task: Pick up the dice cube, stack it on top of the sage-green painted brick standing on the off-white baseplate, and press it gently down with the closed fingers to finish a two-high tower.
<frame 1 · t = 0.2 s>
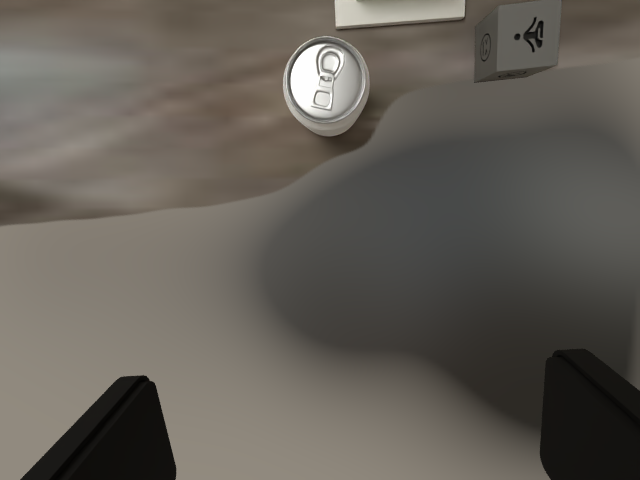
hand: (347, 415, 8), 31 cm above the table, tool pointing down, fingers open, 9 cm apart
can: (329, 104, 36), on the table
dice cube: (499, 52, 34), on the table
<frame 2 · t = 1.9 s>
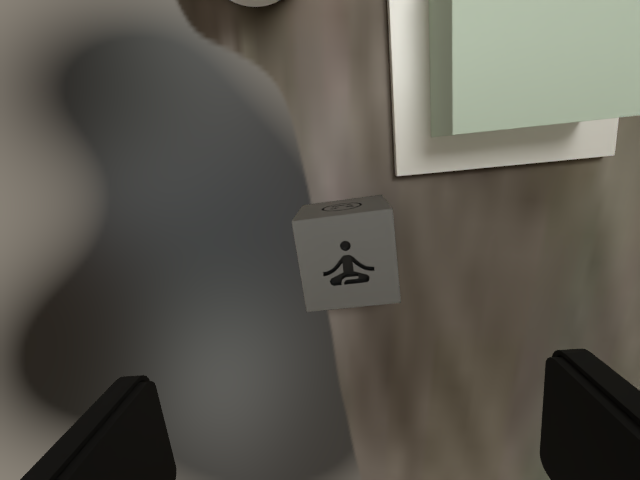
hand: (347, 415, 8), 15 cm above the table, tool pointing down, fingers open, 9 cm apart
sage brick: (506, 50, 18), point 1 cm above the table, touching baseplate
dice cube: (346, 237, 23), on the table
baseplate: (499, 54, 19), on the table
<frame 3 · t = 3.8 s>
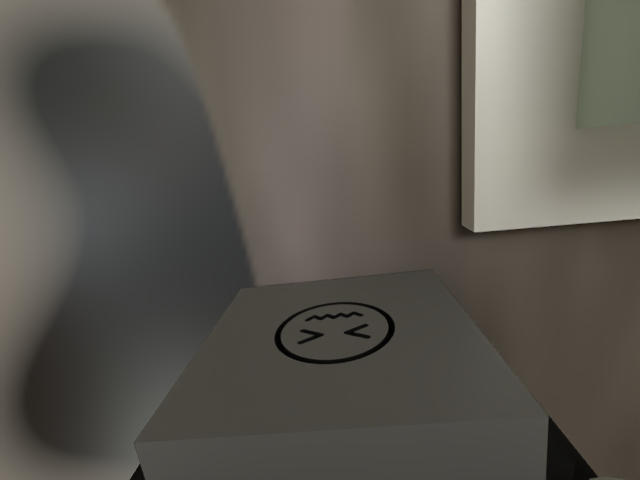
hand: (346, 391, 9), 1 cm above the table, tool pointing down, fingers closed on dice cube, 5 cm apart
dice cube: (344, 358, 10), on the table, touching gripper
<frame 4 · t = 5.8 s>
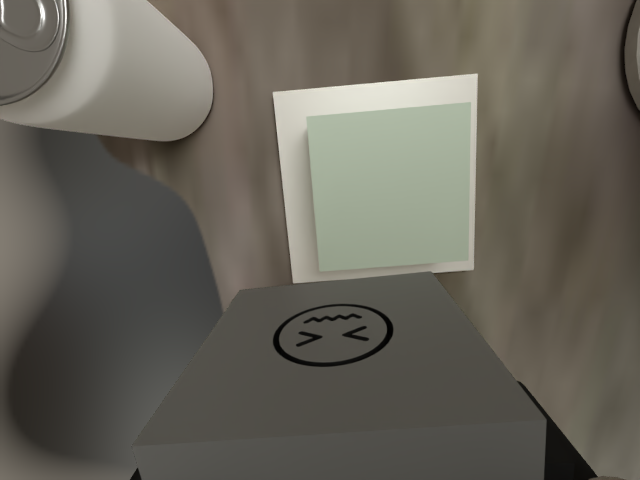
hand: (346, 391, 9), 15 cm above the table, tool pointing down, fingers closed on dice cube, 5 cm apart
can: (164, 88, 21), on the table
sage brick: (378, 185, 22), point 1 cm above the table, touching baseplate
dice cube: (343, 360, 10), point 14 cm above the table, touching gripper
baseplate: (376, 185, 22), on the table
when the fingers open (6 cm above the table, at t = 8.3 s): dice cube stays where it is, resting on sage brick.
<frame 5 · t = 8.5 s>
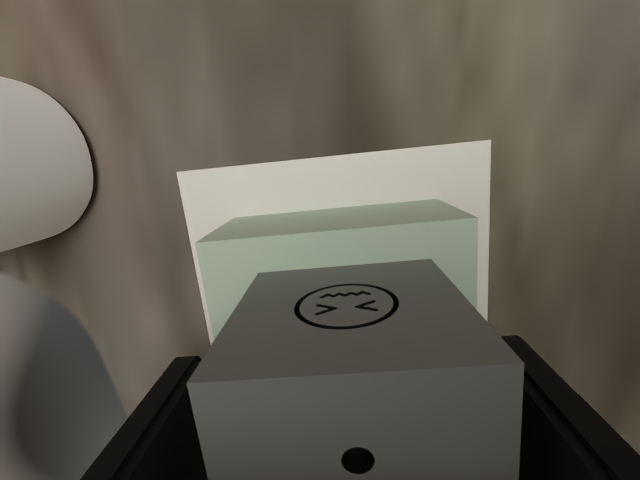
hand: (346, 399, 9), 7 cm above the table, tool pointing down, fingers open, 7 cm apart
can: (29, 162, 15), on the table
sage brick: (342, 301, 15), point 1 cm above the table, touching baseplate, dice cube
dice cube: (349, 339, 11), point 5 cm above the table, touching sage brick
baseplate: (341, 294, 15), on the table
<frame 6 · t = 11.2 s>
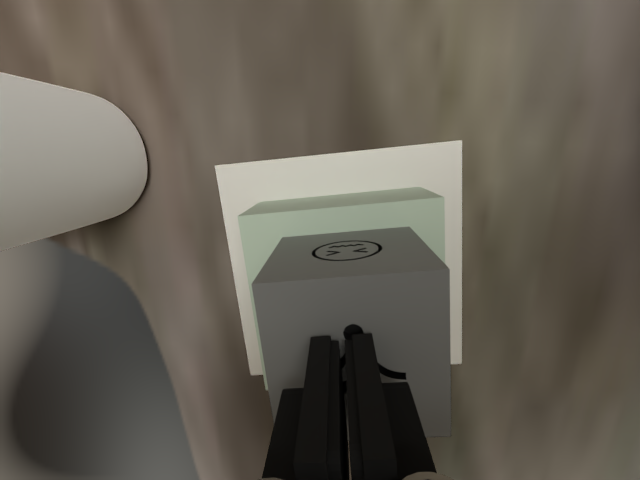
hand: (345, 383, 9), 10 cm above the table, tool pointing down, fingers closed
can: (95, 158, 18), on the table
sage brick: (345, 270, 18), point 1 cm above the table, touching baseplate, dice cube
dice cube: (349, 289, 14), point 5 cm above the table, touching gripper, sage brick
baseplate: (344, 265, 19), on the table
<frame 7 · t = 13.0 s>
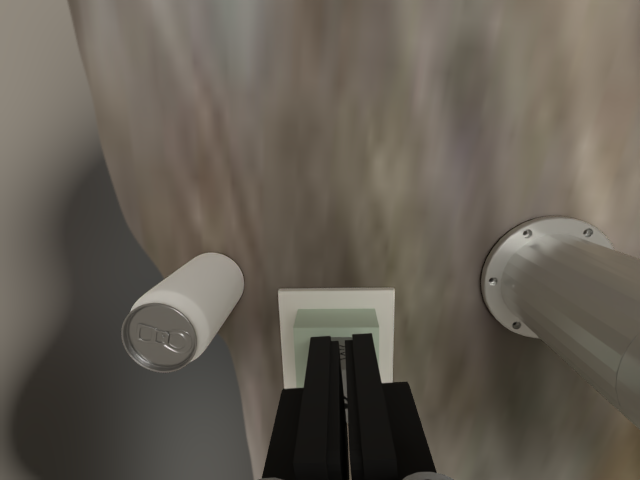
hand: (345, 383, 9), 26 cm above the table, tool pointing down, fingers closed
can: (216, 279, 37), on the table
sage brick: (336, 343, 37), point 1 cm above the table, touching baseplate, dice cube
dice cube: (338, 359, 33), point 5 cm above the table, touching sage brick
baseplate: (336, 339, 38), on the table
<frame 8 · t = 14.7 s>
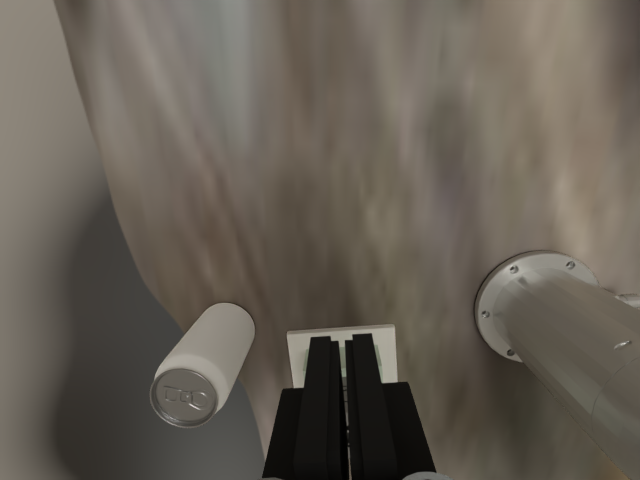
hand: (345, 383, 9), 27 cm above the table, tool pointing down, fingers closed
can: (228, 326, 40), on the table
sage brick: (344, 377, 40), point 1 cm above the table, touching baseplate, dice cube
baseplate: (344, 373, 40), on the table
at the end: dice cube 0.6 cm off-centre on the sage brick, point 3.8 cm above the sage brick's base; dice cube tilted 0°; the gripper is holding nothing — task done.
